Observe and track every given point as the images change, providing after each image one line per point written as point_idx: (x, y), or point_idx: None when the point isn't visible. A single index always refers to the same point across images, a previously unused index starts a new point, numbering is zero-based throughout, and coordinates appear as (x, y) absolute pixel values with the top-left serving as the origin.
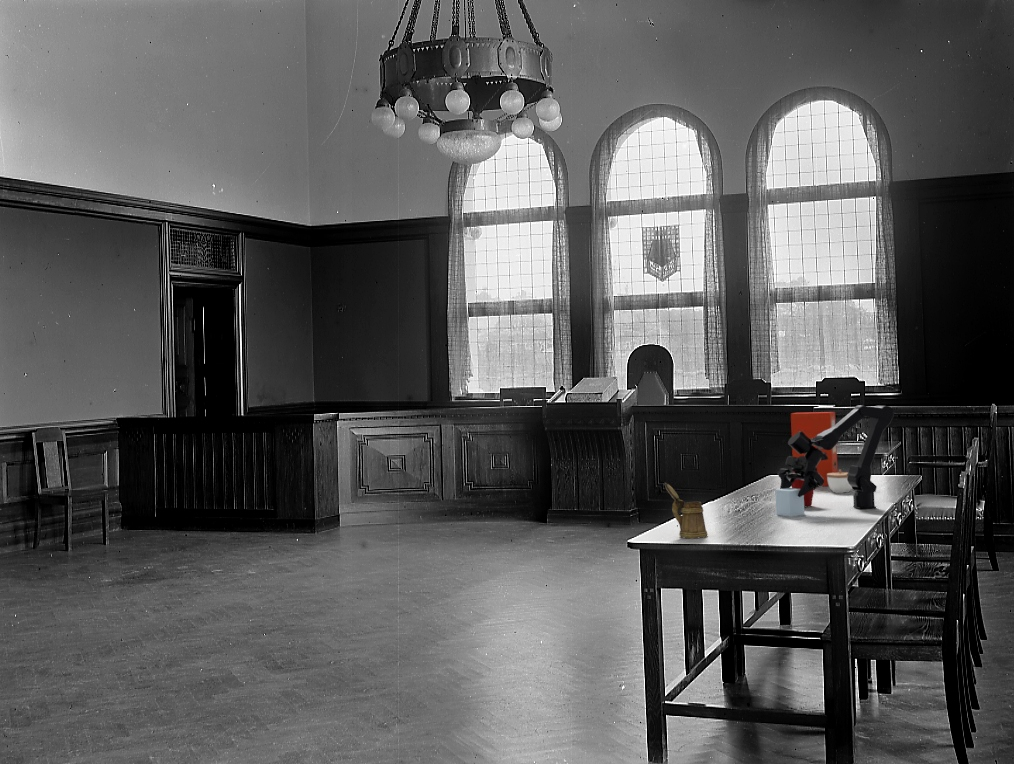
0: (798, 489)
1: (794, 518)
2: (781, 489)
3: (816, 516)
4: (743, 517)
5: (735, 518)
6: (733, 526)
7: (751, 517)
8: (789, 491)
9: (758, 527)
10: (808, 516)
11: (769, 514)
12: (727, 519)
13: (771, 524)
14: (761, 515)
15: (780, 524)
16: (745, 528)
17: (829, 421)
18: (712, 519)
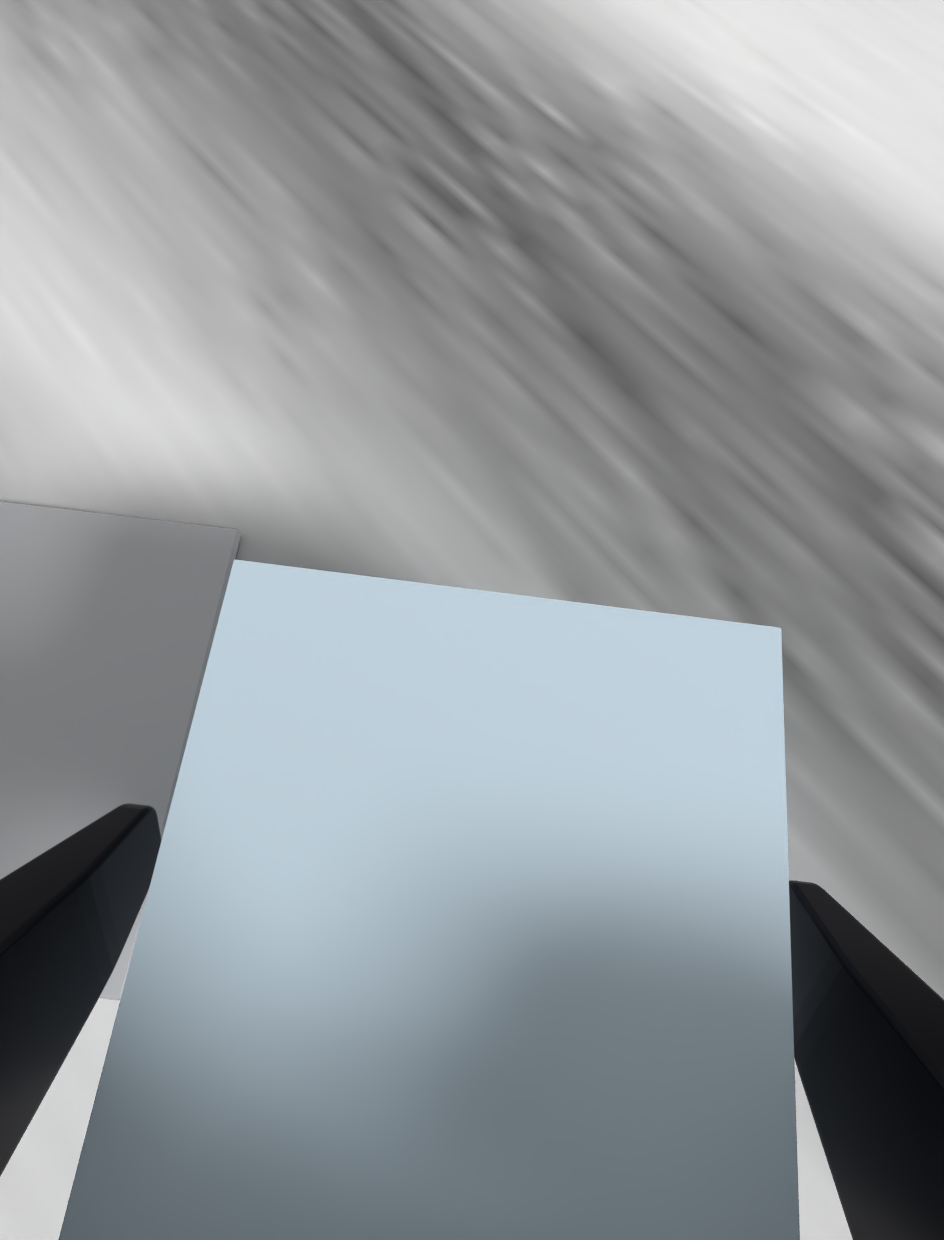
0: (192, 1066)
1: (202, 590)
2: (682, 767)
3: None
4: (809, 432)
5: (814, 345)
6: (466, 45)
7: (742, 475)
8: (231, 575)
9: (247, 93)
10: None
11: None
12: (819, 267)
13: (243, 246)
14: None
15: (163, 283)
16: (312, 23)
17: None
18: (924, 207)
